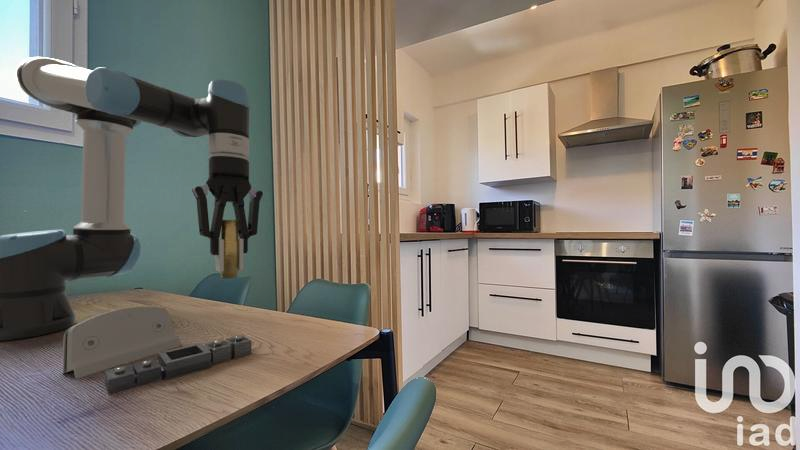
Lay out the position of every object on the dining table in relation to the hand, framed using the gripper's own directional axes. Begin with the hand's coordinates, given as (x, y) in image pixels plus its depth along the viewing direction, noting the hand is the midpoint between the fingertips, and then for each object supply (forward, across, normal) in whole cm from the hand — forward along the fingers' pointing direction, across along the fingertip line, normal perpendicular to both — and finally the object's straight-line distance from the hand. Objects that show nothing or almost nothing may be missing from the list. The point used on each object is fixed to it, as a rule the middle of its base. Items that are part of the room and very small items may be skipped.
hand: (229, 269), depth 69 cm
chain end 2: (+15, -6, -8) cm, 18 cm away
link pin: (+2, 0, 0) cm, 2 cm away
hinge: (+15, -16, +6) cm, 23 cm away
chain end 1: (+15, -13, -8) cm, 22 cm away
